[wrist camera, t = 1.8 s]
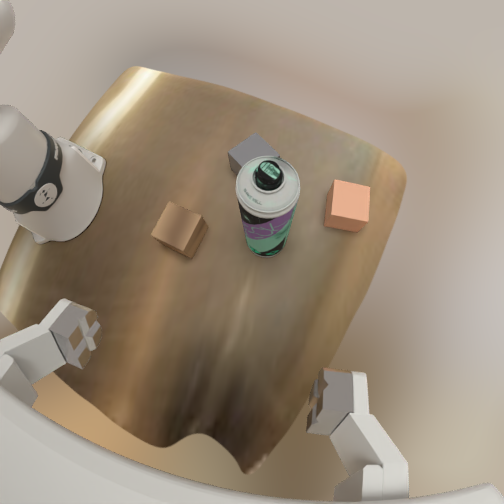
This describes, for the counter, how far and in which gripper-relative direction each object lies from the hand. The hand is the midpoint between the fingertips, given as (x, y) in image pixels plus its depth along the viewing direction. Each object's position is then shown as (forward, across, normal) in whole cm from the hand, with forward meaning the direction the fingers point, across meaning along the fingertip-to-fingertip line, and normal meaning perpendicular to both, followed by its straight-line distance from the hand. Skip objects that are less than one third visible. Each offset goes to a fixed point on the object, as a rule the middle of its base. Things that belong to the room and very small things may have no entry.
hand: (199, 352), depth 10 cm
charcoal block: (+37, +4, +6) cm, 38 cm away
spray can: (+30, 0, +13) cm, 33 cm away
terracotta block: (+34, -10, +8) cm, 37 cm away
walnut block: (+29, +11, +14) cm, 34 cm away
